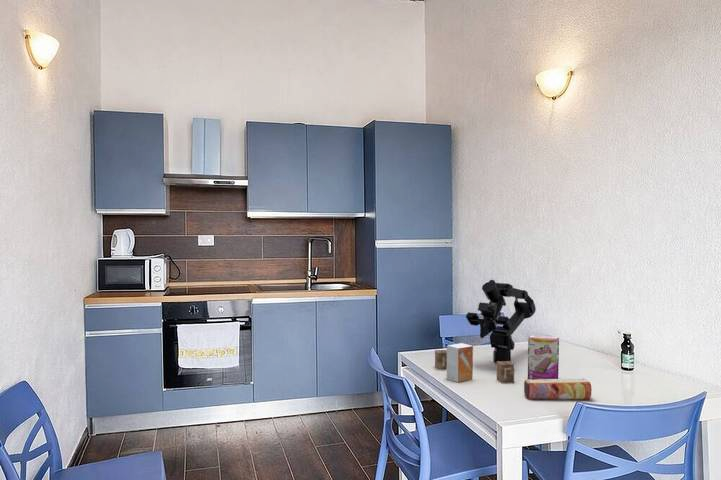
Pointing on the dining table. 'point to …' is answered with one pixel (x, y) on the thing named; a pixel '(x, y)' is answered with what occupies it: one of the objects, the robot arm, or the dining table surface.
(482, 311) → the robot arm
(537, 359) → the candy bar box
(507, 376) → the walnut block seven
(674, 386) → the dining table surface
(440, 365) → the walnut block one
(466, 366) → the small box
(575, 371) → the dining table surface
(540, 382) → the snack package
